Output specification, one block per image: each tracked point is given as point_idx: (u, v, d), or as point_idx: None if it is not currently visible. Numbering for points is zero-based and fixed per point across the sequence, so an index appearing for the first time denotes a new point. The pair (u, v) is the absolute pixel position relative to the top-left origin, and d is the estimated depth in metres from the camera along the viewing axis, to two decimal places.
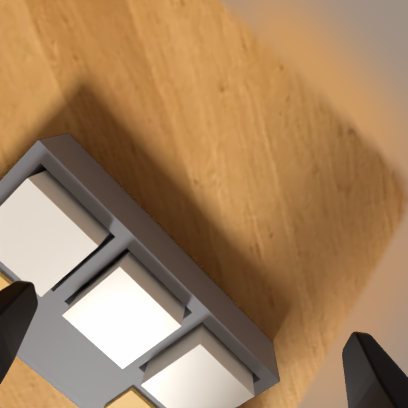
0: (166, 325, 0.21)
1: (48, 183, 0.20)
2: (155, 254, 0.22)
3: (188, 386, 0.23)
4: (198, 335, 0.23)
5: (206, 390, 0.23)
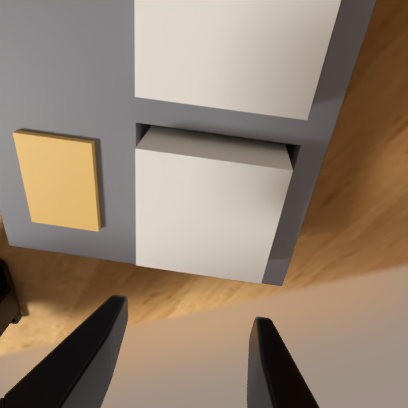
0: (289, 96, 0.10)
1: None
2: None
3: (200, 209, 0.13)
4: (283, 158, 0.12)
5: (215, 233, 0.13)
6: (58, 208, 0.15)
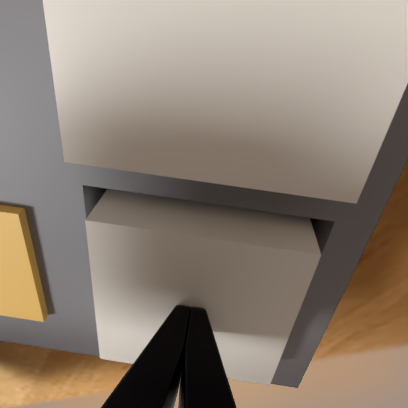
0: (328, 166, 0.06)
1: None
2: None
3: (184, 299, 0.09)
4: (303, 228, 0.08)
5: None
6: None
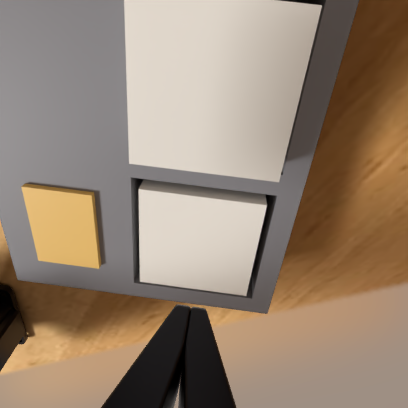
0: (262, 163, 0.12)
1: None
2: (341, 51, 0.11)
3: (192, 236, 0.15)
4: None
5: (206, 254, 0.16)
6: (62, 249, 0.16)
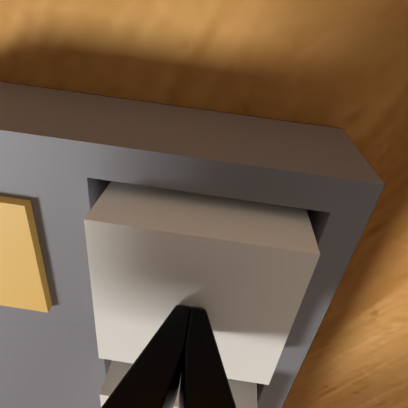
0: None
1: None
2: (284, 394, 0.13)
3: None
4: None
5: None
6: None
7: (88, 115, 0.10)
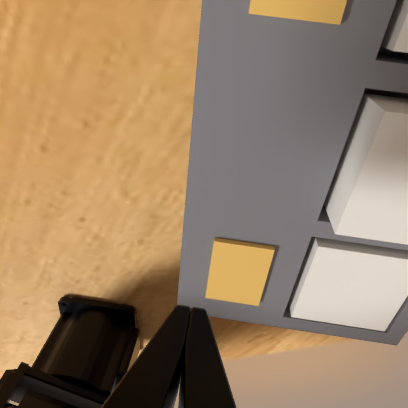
0: None
1: None
2: None
3: (353, 283, 0.18)
4: None
5: (360, 298, 0.18)
6: (231, 289, 0.19)
7: None
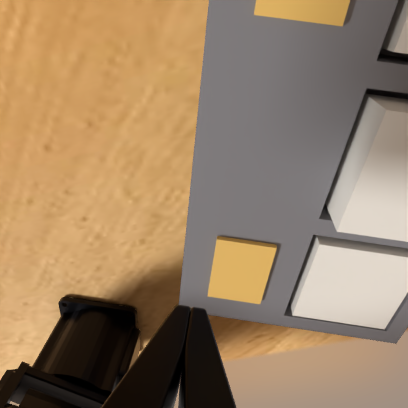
0: None
1: None
2: None
3: (354, 281, 0.18)
4: None
5: (360, 296, 0.19)
6: (233, 288, 0.19)
7: None
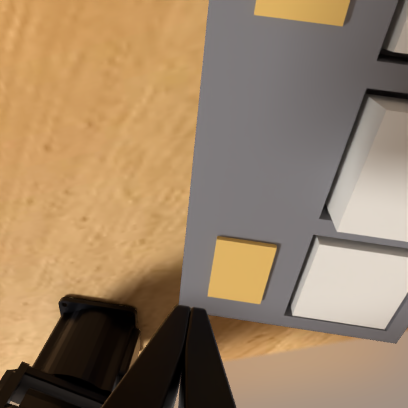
0: None
1: None
2: None
3: (354, 281, 0.18)
4: None
5: (360, 296, 0.19)
6: (233, 288, 0.19)
7: None
